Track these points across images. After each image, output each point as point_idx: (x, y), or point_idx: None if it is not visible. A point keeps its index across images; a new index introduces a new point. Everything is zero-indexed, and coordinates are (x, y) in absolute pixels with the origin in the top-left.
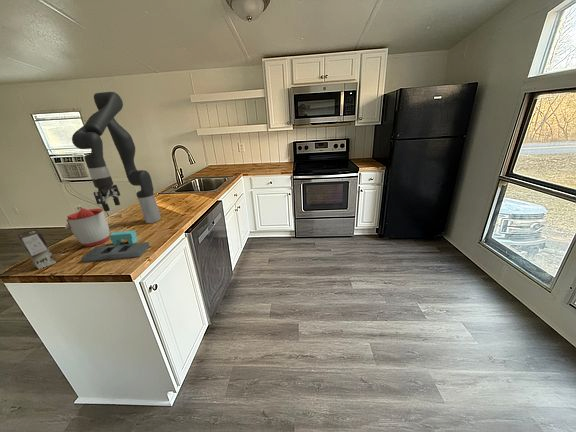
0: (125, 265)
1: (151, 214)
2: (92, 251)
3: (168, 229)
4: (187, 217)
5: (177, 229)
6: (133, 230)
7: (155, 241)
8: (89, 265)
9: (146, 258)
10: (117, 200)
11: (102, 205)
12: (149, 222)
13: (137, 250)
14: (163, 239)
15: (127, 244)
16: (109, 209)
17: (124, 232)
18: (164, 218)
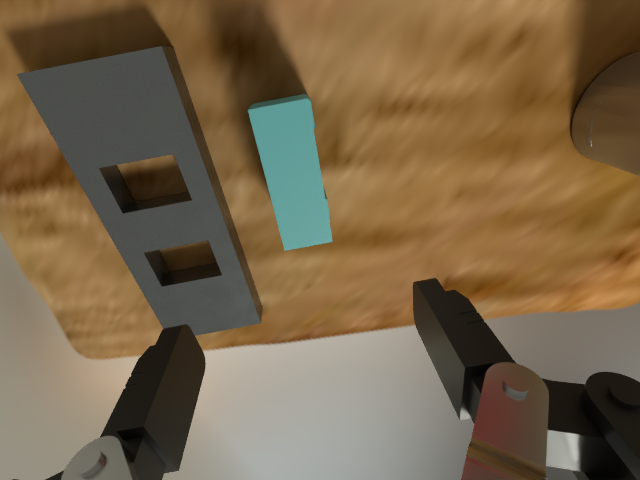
0: (107, 315)
1: (629, 158)
2: (102, 84)
3: None
4: (571, 292)
5: None
6: (329, 235)
7: (307, 301)
8: (37, 151)
9: None
10: (442, 380)
11: (107, 432)
12: (578, 117)
13: None
14: (326, 321)
15: (226, 244)
16: (198, 375)
17: (300, 196)
18: None
